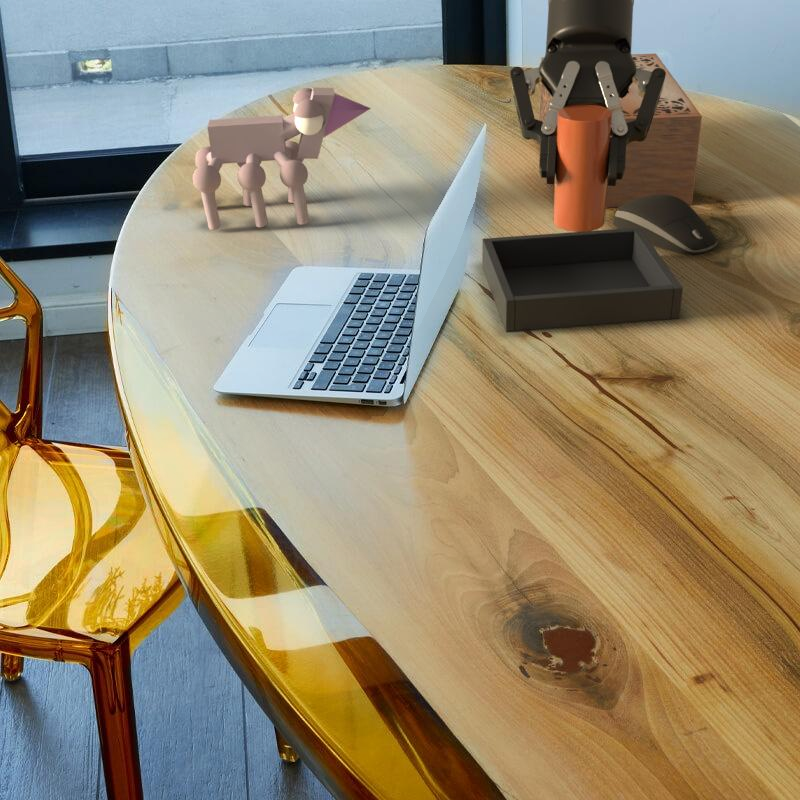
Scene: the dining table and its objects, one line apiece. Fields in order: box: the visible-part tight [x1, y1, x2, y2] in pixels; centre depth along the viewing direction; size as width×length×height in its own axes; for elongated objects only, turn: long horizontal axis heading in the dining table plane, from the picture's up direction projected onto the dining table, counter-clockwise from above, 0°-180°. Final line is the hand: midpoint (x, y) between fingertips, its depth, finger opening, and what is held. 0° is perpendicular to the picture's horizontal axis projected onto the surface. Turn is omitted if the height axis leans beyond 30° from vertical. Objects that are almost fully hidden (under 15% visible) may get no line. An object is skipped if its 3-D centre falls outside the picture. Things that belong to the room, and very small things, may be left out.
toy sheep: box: [192, 87, 372, 231], centre depth 118 cm, size 20×11×14 cm, turn 95°
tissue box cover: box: [538, 53, 703, 209], centre depth 128 cm, size 26×14×10 cm, turn 179°
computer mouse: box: [613, 194, 718, 256], centre depth 111 cm, size 7×12×4 cm, turn 32°
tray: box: [481, 228, 684, 333], centre depth 100 cm, size 16×14×4 cm
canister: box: [552, 105, 612, 232], centre depth 95 cm, size 5×5×10 cm
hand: (581, 180), depth 93 cm, fingers closed on canister, 4 cm apart
